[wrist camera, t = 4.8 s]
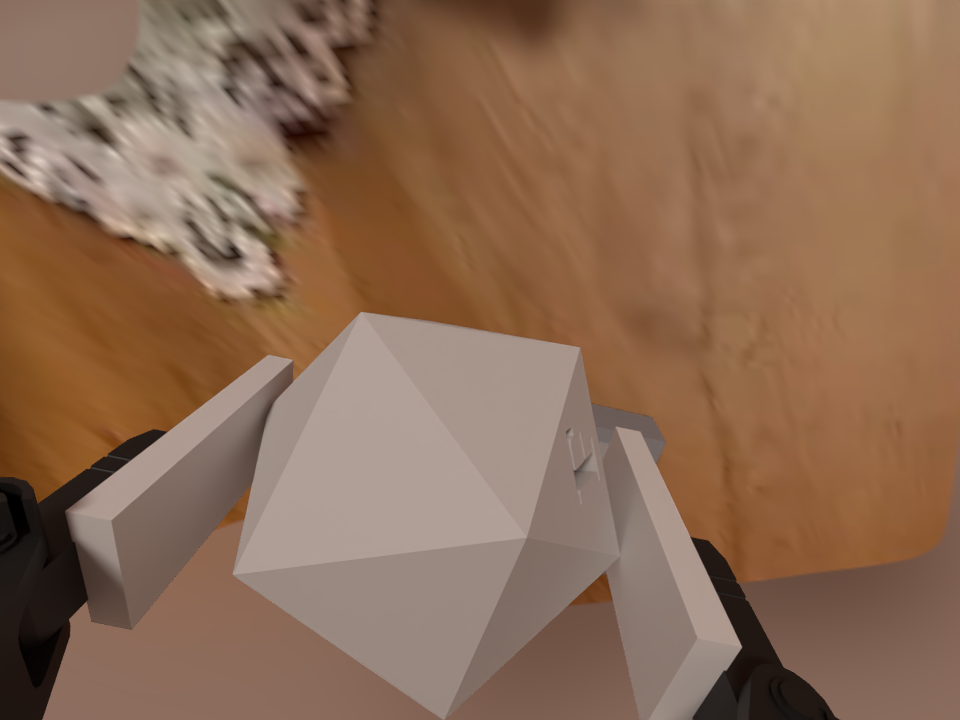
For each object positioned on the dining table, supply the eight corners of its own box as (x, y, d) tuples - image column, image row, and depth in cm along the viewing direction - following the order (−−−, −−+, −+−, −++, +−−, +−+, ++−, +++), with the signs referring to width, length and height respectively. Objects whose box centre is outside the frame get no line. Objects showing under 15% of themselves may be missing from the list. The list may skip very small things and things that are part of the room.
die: (524, 525, 18) (763, 669, 9) (288, 615, 15) (274, 1003, 5) (483, 318, 18) (684, 245, 9) (234, 360, 14) (127, 314, 5)
